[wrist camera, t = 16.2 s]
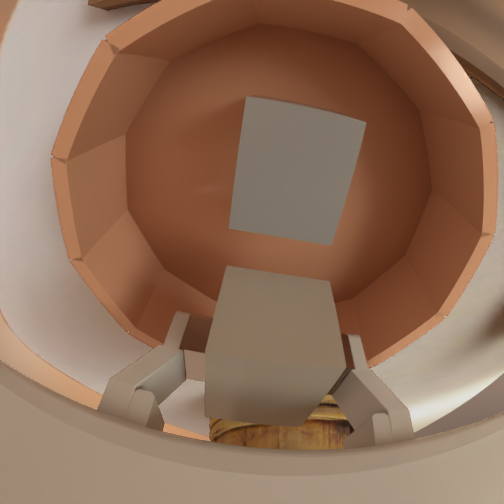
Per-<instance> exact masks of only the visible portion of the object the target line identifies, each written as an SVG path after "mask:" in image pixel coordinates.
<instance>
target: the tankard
mask: <svg viewBox="0 0 504 504" xmlns="http://www.w3.org/2000/svg"><path fill="white" fill-rule="evenodd" d="M209 427H210V433H209V434H210V437H209V438H210V440H211V442H216V443H222V444H229V445H237V446H246V447H256V448H269V449H289V450H324V449H344V442H343V440H344V439H345V438H346V437H347V436H349V435H350V434H351V433H353V432H354V431H355V430H354V428H353V427H352V425H351V424H350V422H349V421H348V419H347V418H346V416H345V415H344V413H343V412H342V411H341V409H340V408H339V406H338V405H337V403H336V402H335V400H334V399H333V397H332V395H326V396H325V397H324V399H323V400H322V401H321V402H320V404H319V405H318V406H317V407H316V409H315V410H314V411H313V412H312V414H311V415H310V416H309V417H308V419H307V420H306V421H305V422H304V423H303V424H302V426H301V427H293V426H276V425H264V424H254V423H245V422H237V421H230V420H224V419H217V418H212V417H210V424H209Z"/></svg>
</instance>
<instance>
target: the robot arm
mask: <svg viewBox="0 0 504 504" xmlns="http://www.w3.org/2000/svg"><path fill="white" fill-rule="evenodd" d="M212 321H213V318H211V317H206V316H201V315H197V314H192V313H186V312H182V311H177V312H176V313H175V315H174V318H173V321H172V323H171V326H170V329H169V331H168V334H167V337H166V339H165V342H164V345H158V346H157V347H155V348H154V349H152V350H151V351H150V352H148V353H147V354H145V355H144V356H142V357H141V358H139V359H138V360H137V361H135V362H134V363H132V364H131V365H129V366H128V367H126V368H125V369H123V370H122V371H120V372H119V373H117V374H116V375H114V376H113V377H112V378H110V380H109V382H108V385H107V387H106V389H105V392H104V394H103V397H102V400H101V402H100V404H99V407H98V409H97V410H95V409H93V408H90V407H88V406H85V405H83V404H81V403H78V402H76V401H74V400H71V399H69V398H67V397H65V396H63V395H61V394H59V393H57V392H55V391H53V390H51V389H49V388H47V387H45V386H43V385H41V384H39V383H38V382H36V381H34V380H32V379H30V378H29V377H27V376H25V375H23V374H22V373H20V372H18V371H17V370H15V369H14V368H12V367H10V366H9V365H7V364H6V363H4V362H2V361H1V360H0V504H504V412H501V413H499V414H496V415H494V416H492V417H489V418H487V419H484V420H481V421H478V422H475V423H473V424H469V425H466V426H463V427H460V428H457V429H453V430H450V431H446V432H443V433H439V434H435V435H431V436H427V437H422V438H417V439H415V437H414V432H413V427H412V423H411V418H410V414H409V410H408V409H407V407H406V406H405V405H404V404H403V403H402V402H401V401H400V400H399V399H398V398H397V397H396V396H395V395H394V393H393V392H392V391H391V390H390V389H389V388H388V387H387V386H386V385H385V384H384V383H383V382H382V381H381V379H380V378H379V377H378V376H377V375H376V374H375V373H374V372H373V371H372V370H368V367H367V362H366V358H365V354H364V350H363V346H362V342H361V338H360V336H359V335H352V334H341V339H342V344H343V350H344V356H345V362H346V369H345V370H344V371H343V373H342V374H341V376H340V377H339V378H338V380H337V381H336V383H335V384H334V385H333V387H332V388H331V389H330V391H329V392H328V393H327V395H332V397H333V399H334V400H335V402H336V403H337V405H338V406H339V408H340V409H341V411H342V412H343V413H344V415H345V416H346V418H347V419H348V421H349V422H350V424H351V425H352V427H353V428H354V430H355V431H354V432H353V433H351V434H350V435H349V436H347V437H346V438H345V439H344V440H343V442H344V449H324V450H289V449H269V448H256V447H246V446H237V445H229V444H222V443H216V442H210V441H204V440H198V439H193V438H188V437H183V436H178V435H175V434H171V433H166V432H163V427H164V420H163V418H162V415H161V413H160V410H159V407H158V405H159V404H160V403H162V402H163V401H164V400H165V399H166V398H167V397H168V396H169V395H170V394H171V393H172V392H173V391H174V390H176V389H177V388H178V387H179V386H180V385H181V384H182V383H183V382H184V381H185V380H186V378H188V379H193V380H199V381H205V350H206V346H207V342H208V337H209V333H210V329H211V325H212Z"/></svg>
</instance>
